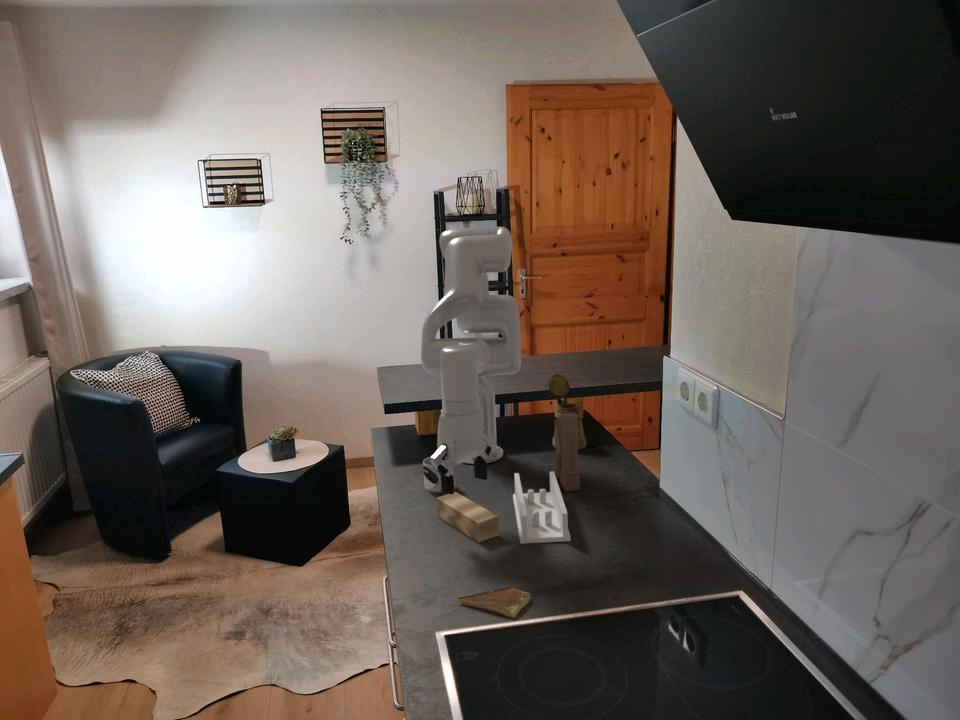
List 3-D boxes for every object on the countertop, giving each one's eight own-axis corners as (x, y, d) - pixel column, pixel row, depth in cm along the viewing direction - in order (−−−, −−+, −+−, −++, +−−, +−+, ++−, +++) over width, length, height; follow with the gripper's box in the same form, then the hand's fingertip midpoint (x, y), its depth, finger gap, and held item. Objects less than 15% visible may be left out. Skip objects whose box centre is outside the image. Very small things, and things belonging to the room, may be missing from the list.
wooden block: (569, 473, 183) (568, 403, 179) (580, 490, 173) (579, 416, 168) (555, 474, 183) (553, 404, 178) (564, 492, 172) (563, 417, 168)
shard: (457, 605, 129) (457, 596, 129) (480, 584, 135) (479, 575, 135) (513, 622, 124) (513, 612, 123) (533, 599, 130) (533, 590, 129)
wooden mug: (571, 432, 212) (570, 371, 208) (591, 448, 199) (590, 383, 195) (542, 436, 210) (540, 374, 205) (560, 452, 197) (558, 387, 193)
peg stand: (570, 541, 149) (570, 513, 148) (520, 543, 149) (519, 515, 147) (556, 495, 170) (556, 471, 169) (512, 498, 170) (512, 473, 169)
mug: (419, 487, 179) (417, 461, 177) (441, 479, 183) (440, 453, 181) (443, 499, 171) (442, 472, 170) (466, 491, 175) (465, 464, 174)
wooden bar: (437, 517, 163) (436, 497, 162) (456, 510, 166) (455, 491, 165) (479, 543, 150) (477, 523, 149) (499, 536, 153) (498, 516, 152)
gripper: (476, 394, 160) (480, 469, 164) (416, 412, 148) (421, 493, 152) (503, 399, 155) (505, 477, 159) (442, 419, 143) (447, 503, 147)
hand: (464, 485), depth 155 cm, fingers open, 9 cm apart
